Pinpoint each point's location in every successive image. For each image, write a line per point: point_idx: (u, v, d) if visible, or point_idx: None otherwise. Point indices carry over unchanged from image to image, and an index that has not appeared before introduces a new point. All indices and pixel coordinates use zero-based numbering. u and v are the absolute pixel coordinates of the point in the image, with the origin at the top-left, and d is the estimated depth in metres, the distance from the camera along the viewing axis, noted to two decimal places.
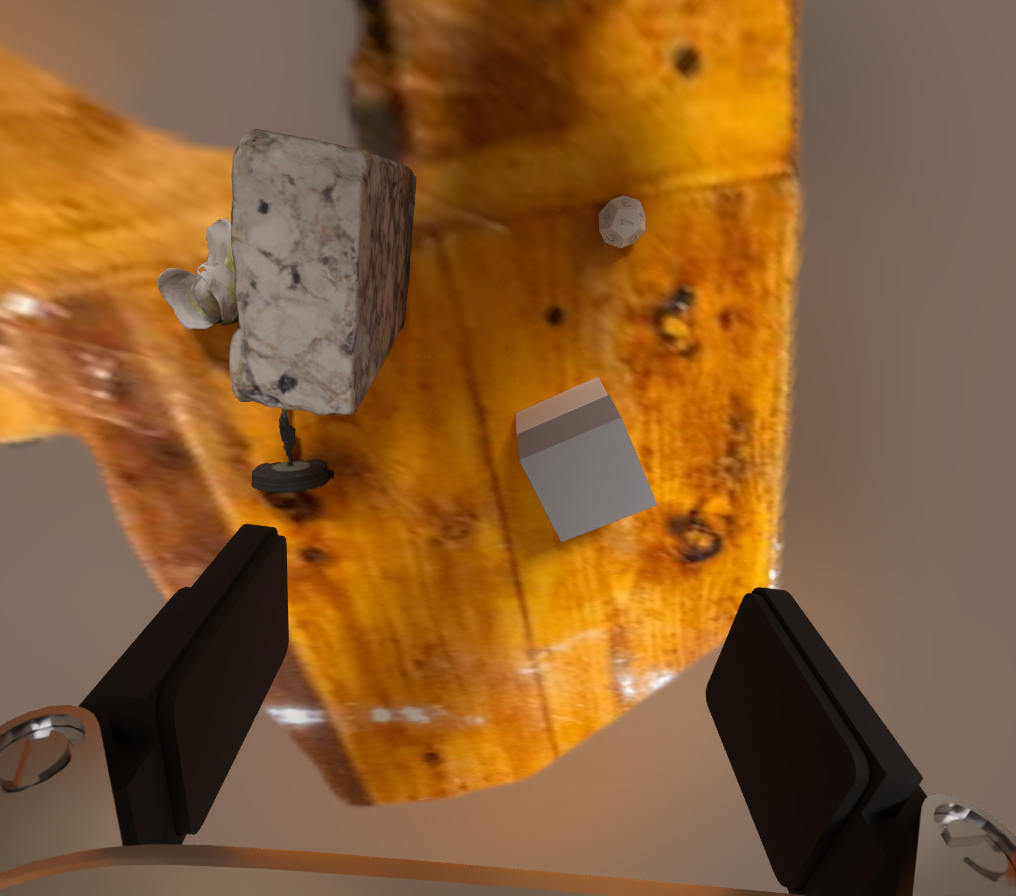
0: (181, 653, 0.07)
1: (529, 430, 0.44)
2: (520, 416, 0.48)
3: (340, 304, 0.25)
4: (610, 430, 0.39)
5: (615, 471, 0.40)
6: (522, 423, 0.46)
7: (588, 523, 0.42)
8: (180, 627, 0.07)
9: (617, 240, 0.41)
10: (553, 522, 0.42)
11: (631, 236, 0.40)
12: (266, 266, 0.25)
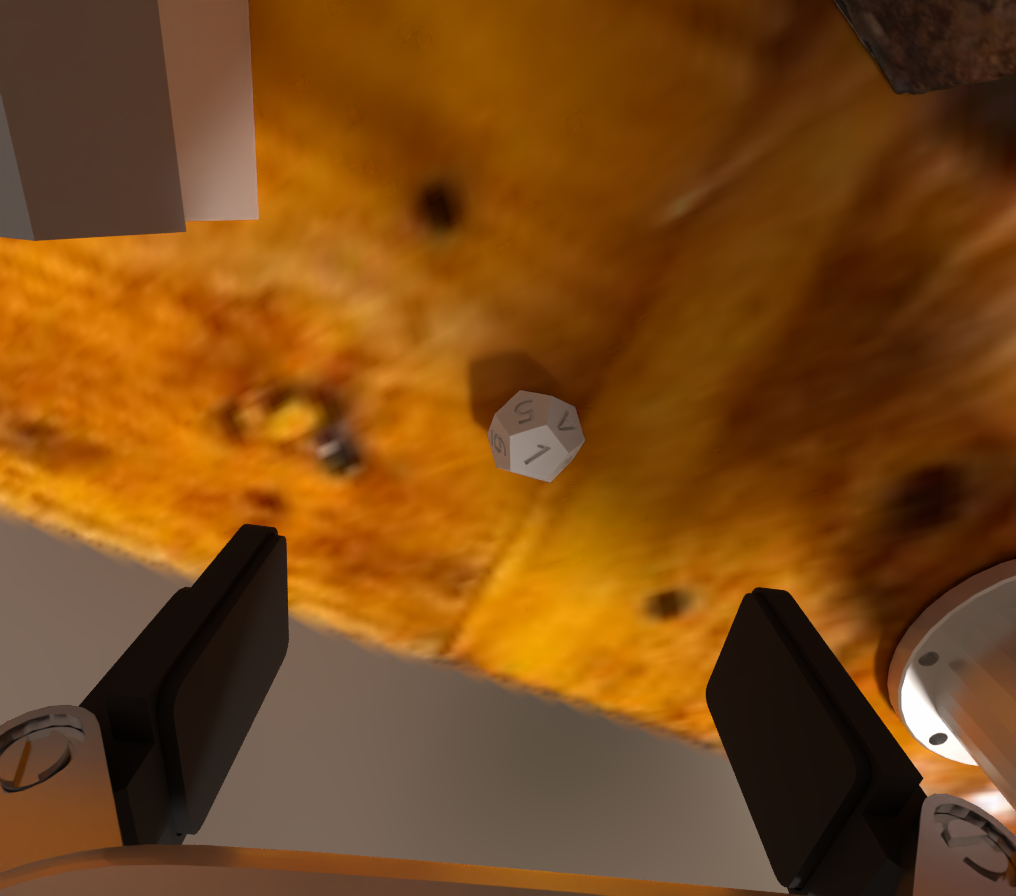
0: (180, 652, 0.07)
1: None
2: None
3: None
4: None
5: None
6: None
7: None
8: (180, 627, 0.07)
9: (513, 420, 0.19)
10: None
11: (506, 448, 0.19)
12: None
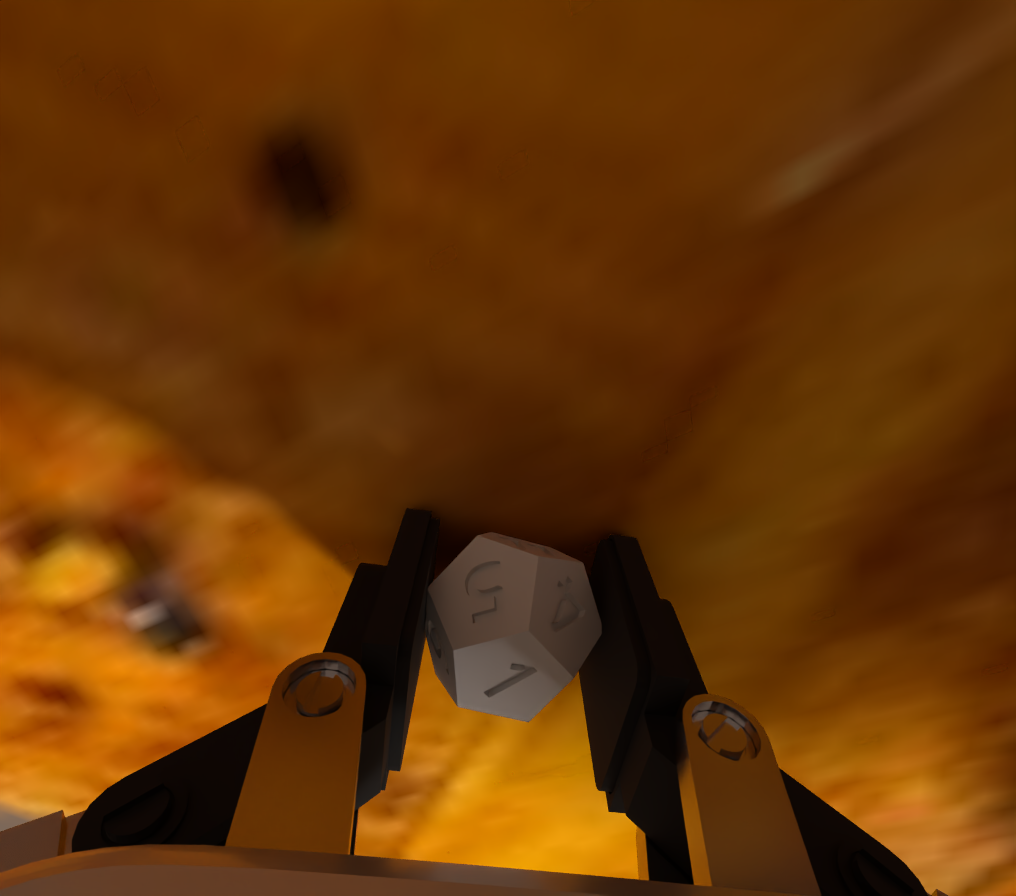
0: (405, 611, 0.08)
1: None
2: None
3: None
4: None
5: None
6: None
7: None
8: (396, 592, 0.09)
9: (463, 610, 0.10)
10: None
11: (448, 663, 0.10)
12: None
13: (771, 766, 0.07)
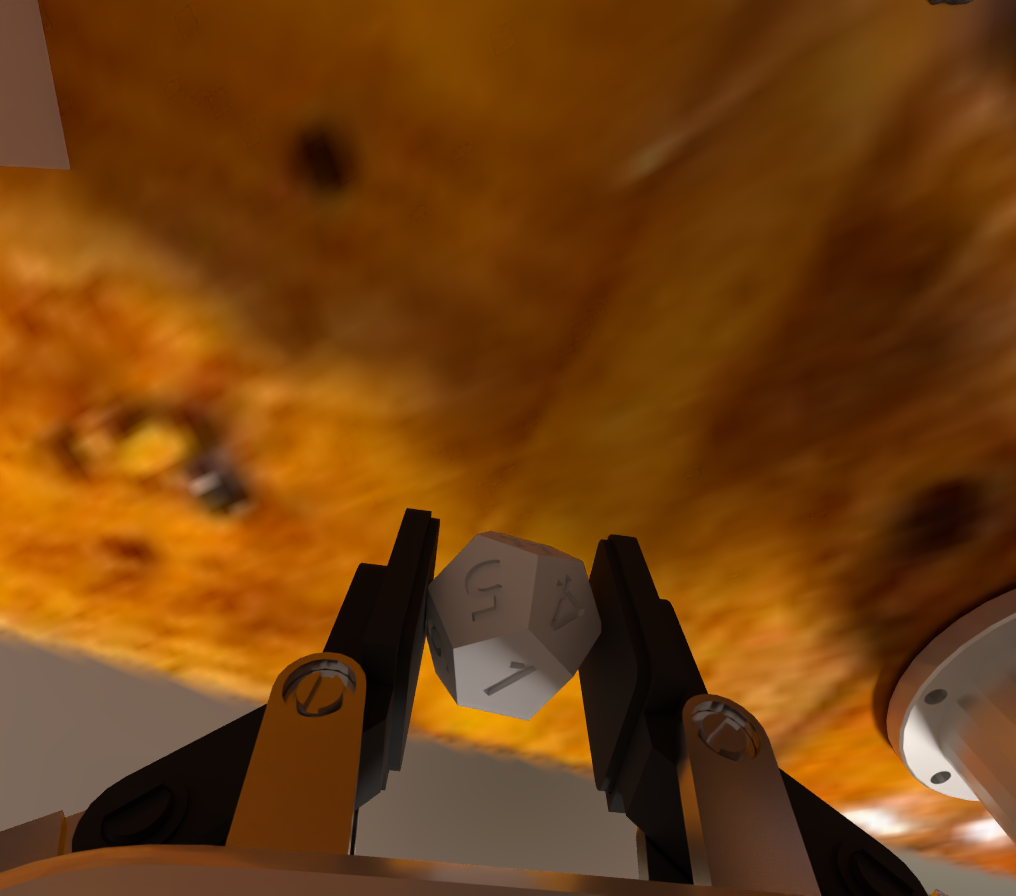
0: (405, 611, 0.08)
1: None
2: None
3: None
4: None
5: None
6: None
7: None
8: (396, 592, 0.09)
9: (463, 609, 0.10)
10: None
11: (448, 661, 0.10)
12: None
13: (771, 766, 0.07)
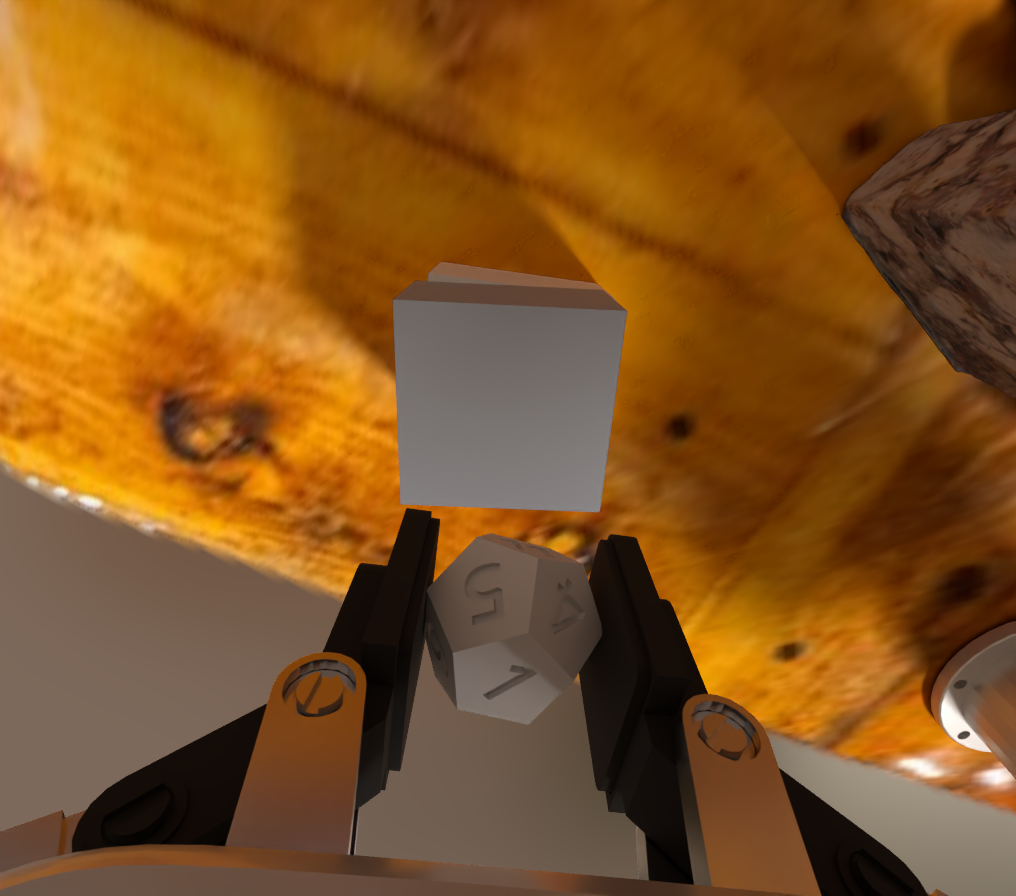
0: (406, 611, 0.08)
1: None
2: None
3: None
4: (586, 488, 0.21)
5: (504, 465, 0.21)
6: None
7: (415, 374, 0.19)
8: (396, 592, 0.09)
9: (462, 613, 0.10)
10: (451, 308, 0.18)
11: (448, 664, 0.10)
12: None
13: (771, 766, 0.07)
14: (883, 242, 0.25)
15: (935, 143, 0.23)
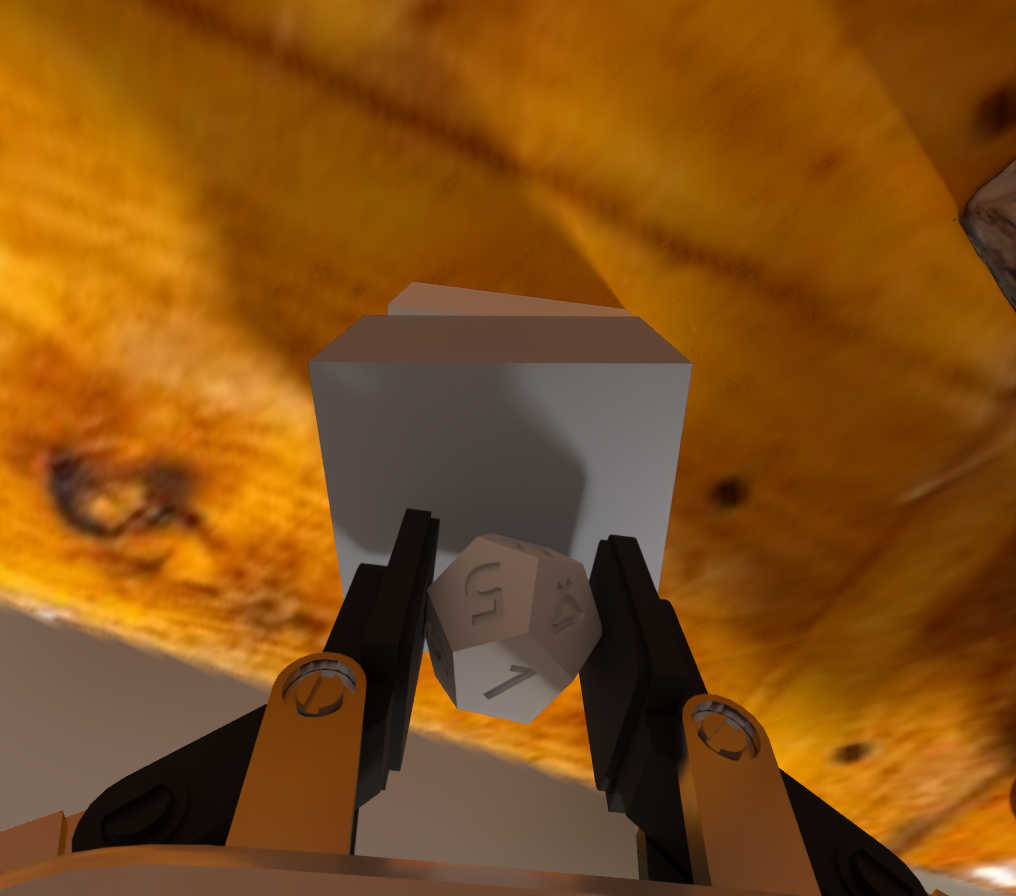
0: (406, 611, 0.08)
1: None
2: None
3: None
4: None
5: None
6: None
7: (356, 473, 0.12)
8: (396, 592, 0.09)
9: (462, 613, 0.10)
10: (404, 372, 0.11)
11: (447, 664, 0.10)
12: None
13: (771, 766, 0.07)
14: None
15: None
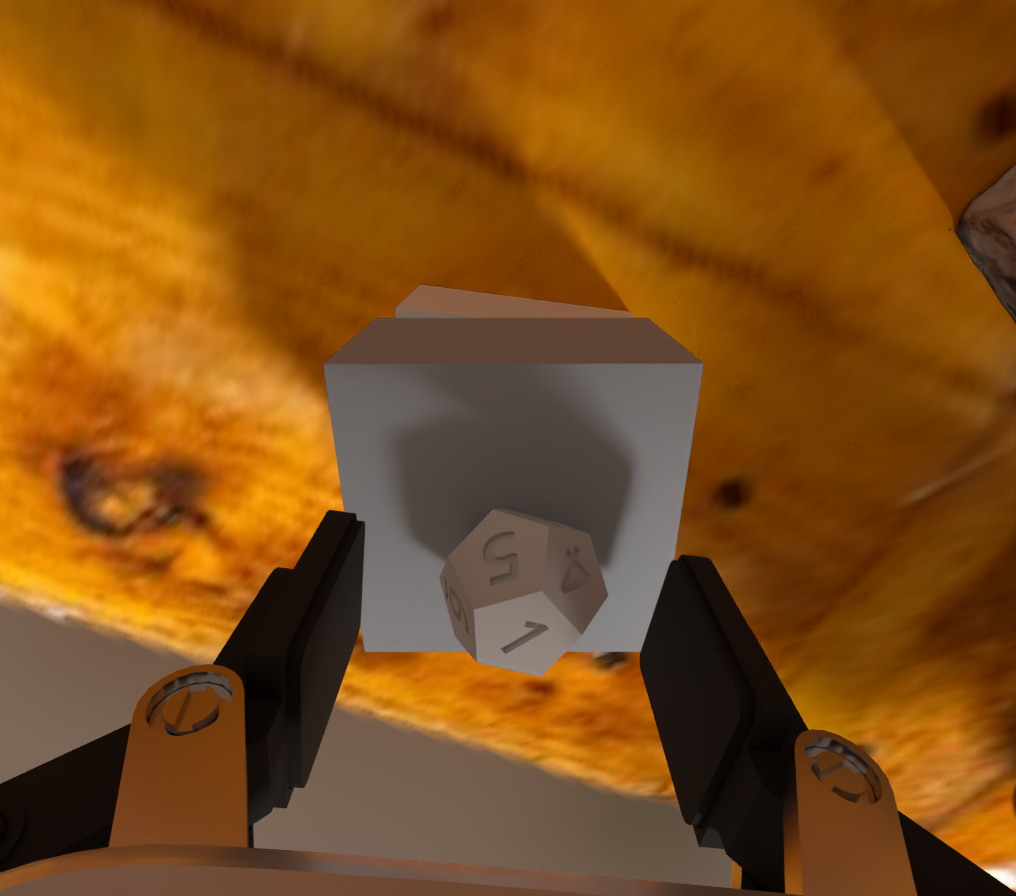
0: (300, 620, 0.08)
1: None
2: None
3: None
4: (640, 621, 0.14)
5: None
6: None
7: (371, 474, 0.12)
8: (295, 599, 0.08)
9: (482, 575, 0.11)
10: (418, 373, 0.11)
11: (468, 623, 0.11)
12: None
13: (891, 817, 0.07)
14: None
15: None
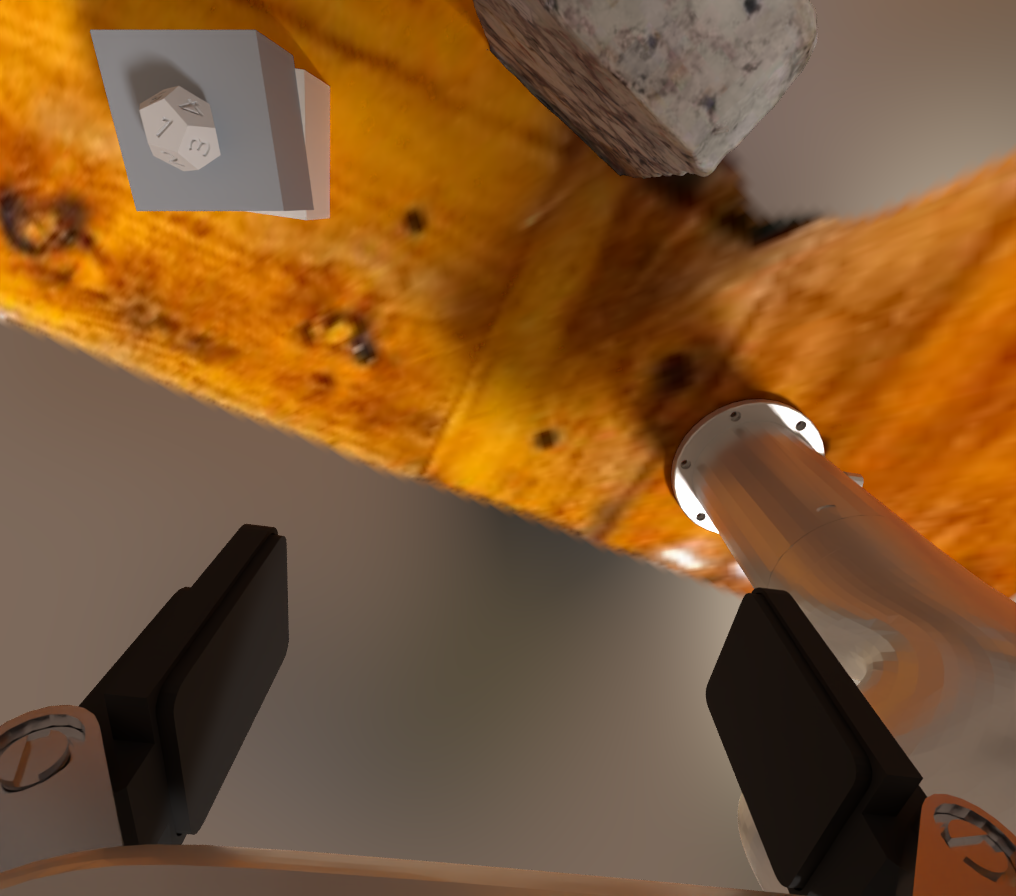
0: (179, 653, 0.07)
1: (293, 76, 0.31)
2: (323, 90, 0.34)
3: (597, 20, 0.18)
4: (268, 189, 0.29)
5: (203, 171, 0.29)
6: (314, 87, 0.33)
7: (120, 93, 0.27)
8: (180, 627, 0.07)
9: (147, 103, 0.25)
10: (132, 35, 0.26)
11: (144, 125, 0.25)
12: None
13: None
14: (513, 63, 0.33)
15: None
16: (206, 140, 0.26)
